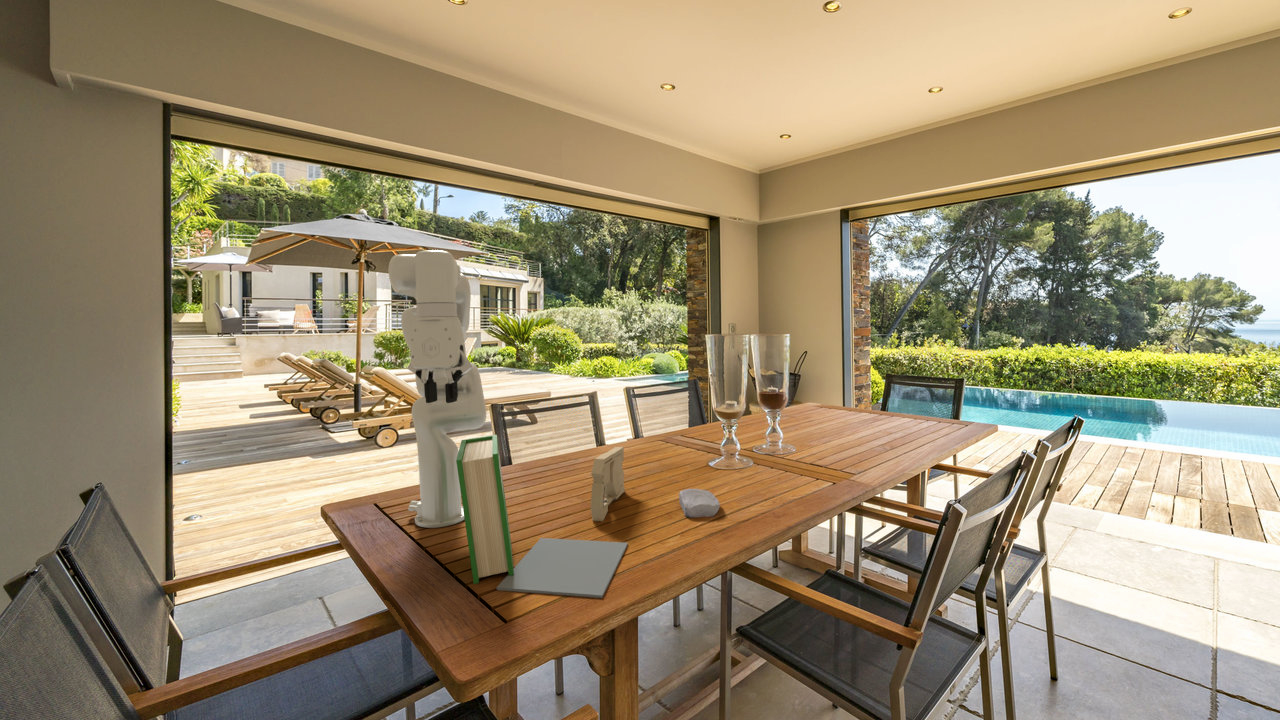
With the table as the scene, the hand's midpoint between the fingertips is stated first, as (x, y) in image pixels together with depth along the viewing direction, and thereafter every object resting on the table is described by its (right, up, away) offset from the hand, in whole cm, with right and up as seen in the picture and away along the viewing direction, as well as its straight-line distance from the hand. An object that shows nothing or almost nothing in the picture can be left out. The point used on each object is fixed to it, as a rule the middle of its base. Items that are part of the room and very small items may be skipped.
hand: (441, 401), depth 106 cm
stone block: (+57, -31, +27) cm, 70 cm away
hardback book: (+11, -33, +1) cm, 35 cm away
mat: (+26, -33, -2) cm, 42 cm away
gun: (+33, -31, +32) cm, 55 cm away
